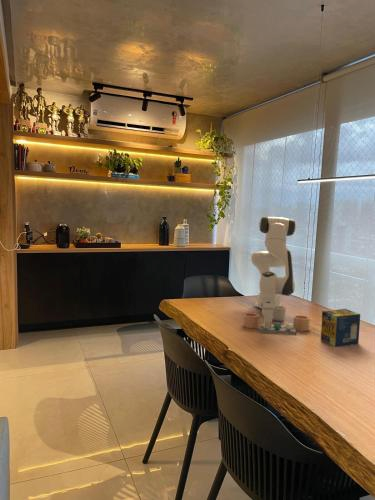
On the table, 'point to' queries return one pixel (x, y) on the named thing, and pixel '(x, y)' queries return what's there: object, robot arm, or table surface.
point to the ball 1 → (277, 325)
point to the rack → (279, 331)
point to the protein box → (340, 327)
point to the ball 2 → (288, 326)
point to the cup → (279, 313)
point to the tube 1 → (251, 320)
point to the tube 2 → (301, 323)
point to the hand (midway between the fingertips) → (266, 326)
